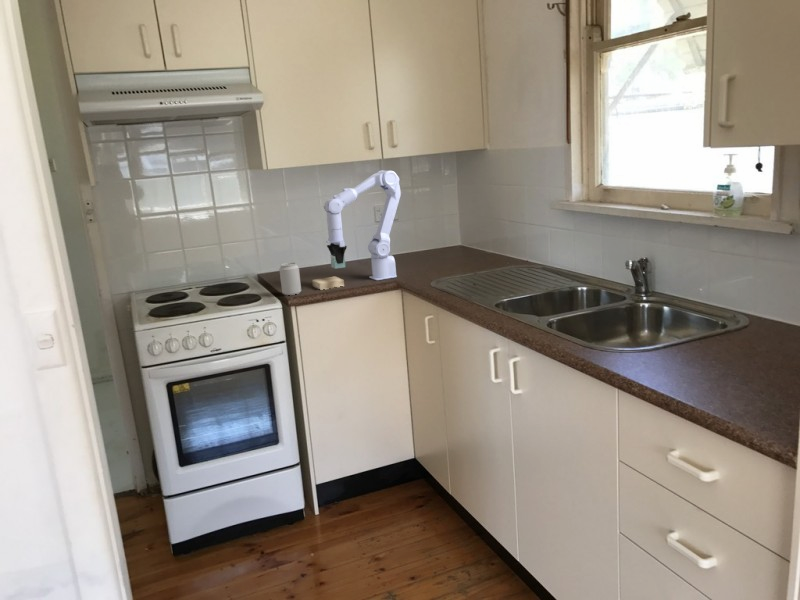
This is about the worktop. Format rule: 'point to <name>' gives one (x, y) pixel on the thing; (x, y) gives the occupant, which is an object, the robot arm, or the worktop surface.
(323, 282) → the beige square slab
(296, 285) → the can
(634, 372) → the worktop surface
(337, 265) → the tin
